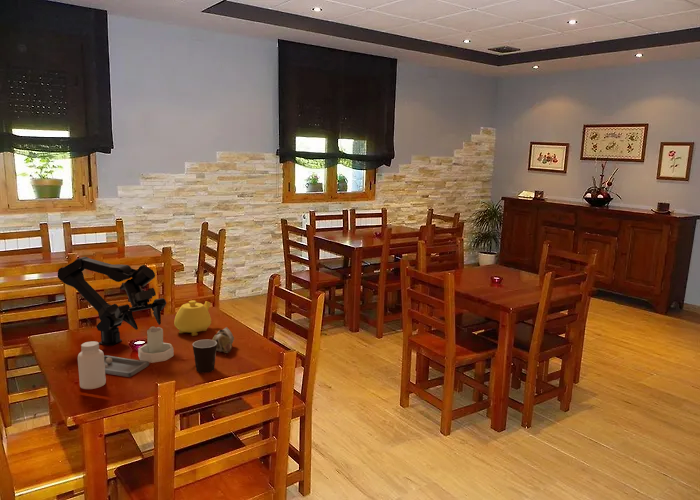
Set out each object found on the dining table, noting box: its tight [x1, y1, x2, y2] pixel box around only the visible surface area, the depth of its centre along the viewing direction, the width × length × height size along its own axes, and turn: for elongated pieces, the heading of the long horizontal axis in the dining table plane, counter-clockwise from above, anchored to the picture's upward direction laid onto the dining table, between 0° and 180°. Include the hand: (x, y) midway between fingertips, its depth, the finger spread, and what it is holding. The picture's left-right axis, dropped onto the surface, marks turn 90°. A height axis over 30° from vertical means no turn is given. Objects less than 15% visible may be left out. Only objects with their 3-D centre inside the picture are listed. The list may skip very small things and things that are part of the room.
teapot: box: [173, 299, 212, 337], centre depth 238 cm, size 20×16×14 cm
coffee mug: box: [191, 338, 217, 374], centre depth 198 cm, size 12×9×10 cm
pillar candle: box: [146, 326, 164, 354], centre depth 205 cm, size 6×6×12 cm
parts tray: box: [104, 354, 150, 378], centre depth 194 cm, size 19×11×3 cm, turn 75°
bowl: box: [137, 342, 175, 364], centre depth 206 cm, size 12×12×4 cm
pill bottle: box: [77, 340, 107, 390], centre depth 180 cm, size 8×8×15 cm
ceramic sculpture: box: [211, 326, 235, 354], centre depth 216 cm, size 11×9×15 cm
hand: (148, 326), depth 207 cm, fingers open, 9 cm apart
